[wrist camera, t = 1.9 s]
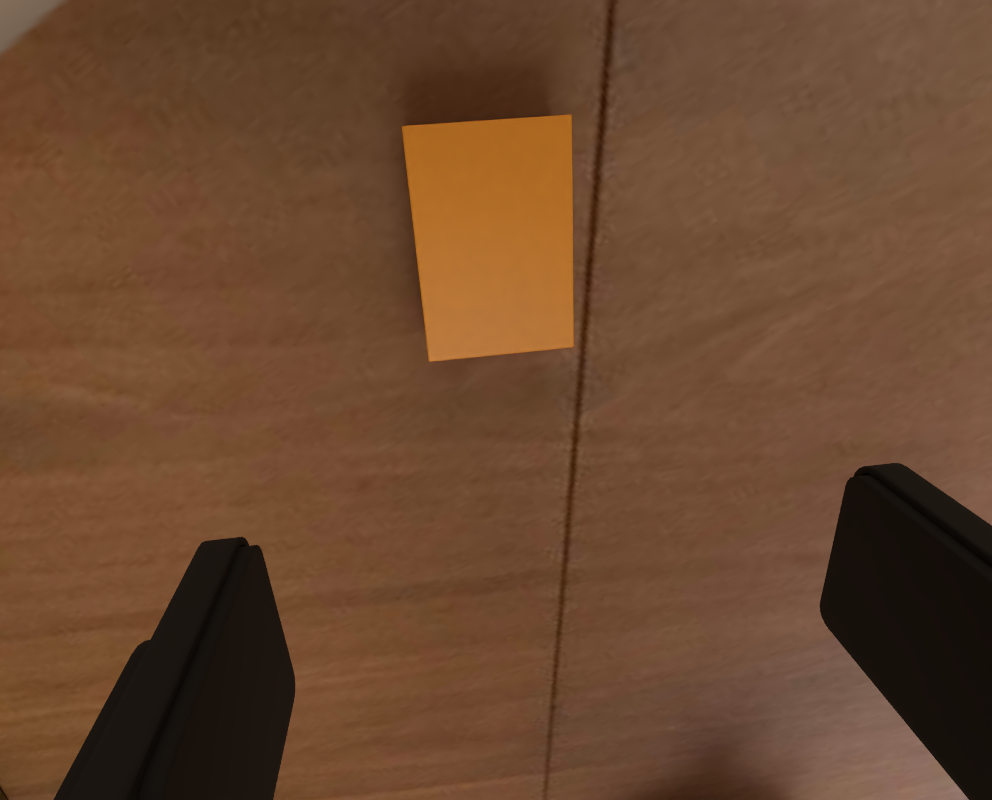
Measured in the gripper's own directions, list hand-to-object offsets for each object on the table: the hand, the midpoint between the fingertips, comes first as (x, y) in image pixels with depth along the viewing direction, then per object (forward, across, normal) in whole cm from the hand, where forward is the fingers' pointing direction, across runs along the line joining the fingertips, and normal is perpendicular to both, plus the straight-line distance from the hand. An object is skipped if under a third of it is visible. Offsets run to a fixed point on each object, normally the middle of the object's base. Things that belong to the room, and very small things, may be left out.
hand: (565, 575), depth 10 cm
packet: (+17, -1, -3) cm, 17 cm away
